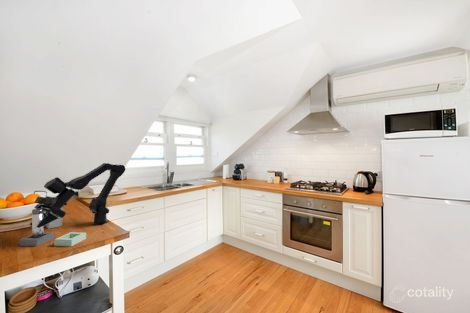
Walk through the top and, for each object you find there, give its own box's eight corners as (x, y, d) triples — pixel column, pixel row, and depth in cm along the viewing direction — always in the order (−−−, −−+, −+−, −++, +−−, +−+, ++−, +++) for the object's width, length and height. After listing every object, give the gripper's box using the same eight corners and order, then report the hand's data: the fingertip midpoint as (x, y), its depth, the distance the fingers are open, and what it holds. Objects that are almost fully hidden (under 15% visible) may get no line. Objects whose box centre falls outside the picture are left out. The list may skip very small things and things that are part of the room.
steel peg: (38, 240, 97) (38, 208, 97) (45, 240, 97) (46, 208, 97) (29, 243, 93) (29, 210, 93) (37, 243, 93) (37, 210, 93)
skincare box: (44, 225, 117) (44, 199, 117) (60, 222, 122) (60, 197, 122) (47, 229, 112) (47, 201, 112) (64, 225, 117) (64, 199, 117)
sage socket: (70, 238, 100) (70, 232, 100) (86, 238, 99) (86, 232, 99) (54, 245, 92) (54, 239, 92) (71, 246, 91) (71, 239, 91)
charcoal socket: (38, 238, 100) (38, 232, 100) (54, 238, 99) (54, 232, 99) (19, 245, 91) (19, 239, 91) (36, 246, 91) (36, 239, 91)
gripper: (39, 188, 103) (8, 215, 93) (57, 191, 95) (26, 221, 85) (58, 200, 110) (31, 226, 100) (76, 204, 102) (49, 232, 92)
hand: (34, 226), depth 94 cm, fingers open, 7 cm apart
